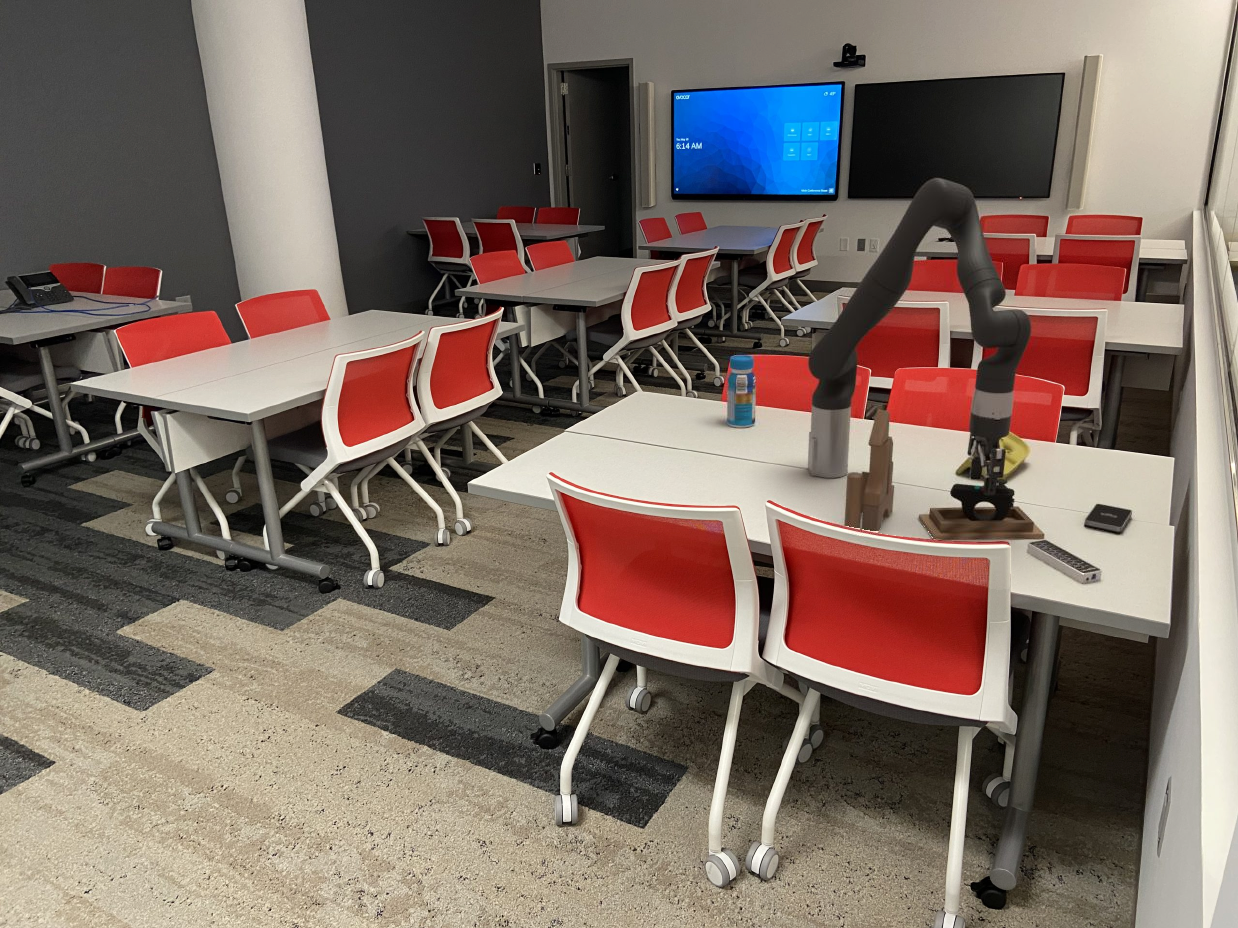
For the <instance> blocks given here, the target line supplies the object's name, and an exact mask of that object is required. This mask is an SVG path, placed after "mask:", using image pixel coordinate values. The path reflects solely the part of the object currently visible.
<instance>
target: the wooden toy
mask: <svg viewBox="0 0 1238 928" xmlns="http://www.w3.org/2000/svg"><path fill="white" fill-rule="evenodd" d="M890 417H891V412H890V410H885V409H884V410H881V409H878V410H877V411H876V413H875V417H874V421H873V424H872V429H871V431H870V432H871V433H870V435H869V440H868V446H870V451H869V452H870V453H869V455H870V456H869V469H868V471H861V472H853V471H852V472H847V474H846V490H845V505H844V507H845V509H844V526H849V527H854V528H860V529H861V530H862V529H864V530H870V531H879V530H880V531H881V529H882V522H883V518H887V517H888V518H890V516H891V514H892V513H893V509H894V508H893V507H894V497H895V495H894V494H895V485H894V484H893V475H894V474H893V473H894V461H893V455H894V454H893V453H894V441H893V437H892V436H890V435H889V431H890V420H891V419H890ZM861 519H862V520H861ZM880 528H881V529H880ZM880 531H879V532H880Z"/></svg>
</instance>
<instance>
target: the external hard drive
mask: <svg viewBox="0 0 1238 928" xmlns="http://www.w3.org/2000/svg"><path fill="white" fill-rule="evenodd" d="M1132 515H1133V510H1131V509H1127V508H1123V507H1118V506H1114V505H1113V506H1112V505H1108V504H1102V503H1095V505H1094V507H1092V509H1091V510H1090V512H1089V513H1088V514H1087V516H1086V517H1085V518H1084V522H1083V523H1084V525H1083V526H1084V528H1086V529H1090V530H1095V531H1098V532H1103V533H1109V534H1114V535H1121V534H1122V533H1123V531H1124V529H1125V528H1126V526H1127V525H1128V523H1129V522H1130V520H1131V519H1132Z"/></svg>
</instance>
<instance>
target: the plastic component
mask: <svg viewBox="0 0 1238 928" xmlns="http://www.w3.org/2000/svg"><path fill="white" fill-rule="evenodd" d="M999 445H1000V449H1005V450H1006V455H1005V465H1004V474H1003V478H997V479H1004V480H1006V479H1007V478H1008V477H1009V476H1010V475H1011V474H1013V472H1015V471H1016V470H1017V469H1018V468H1019V467H1020V465H1021V464H1022V463H1023V462H1024V461H1025V460H1026V459H1027V458H1028V456H1029V455H1030V453H1031V449H1030V447H1029V445H1028V443H1026V441H1024V440H1023V439H1022V438H1021V437H1020V436H1018V435H1016V434H1014V433H1013V432H1011V431H1010V430H1009V434H1008V435H1007V436H1006V437H1003V438H1001V439H1000V440H999ZM987 462H990V461H987ZM969 468H971V461H970V456H969V457H967V458H966V460H965V461H963V463H962V464H961V465H960V466H959V467H958V468H957V469H956V470H955V472H956V473H957V474H959V473H960V474H962V473H963V472H965V471H966V470H967V469H969ZM964 470H965V471H964ZM994 472H995V470H994ZM981 476H983V477H984V478H985V470H984V467H982V475H981ZM1006 477H1007V478H1006Z"/></svg>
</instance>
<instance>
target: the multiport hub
mask: <svg viewBox="0 0 1238 928" xmlns="http://www.w3.org/2000/svg"><path fill="white" fill-rule="evenodd" d="M1026 553H1028V555H1029V554H1030V555H1031V556H1033V557H1035V558H1036V559H1038V560H1040V561H1042V562H1043V563H1045V564H1047V565H1049V566H1050V567H1052V568H1054V569H1055V570H1057V571H1059V572H1061V573H1063V574H1064V575H1066V576H1068V577H1069V578H1071V579H1073V580H1074V581H1076V582H1077V583H1080V584H1086V583H1093V582H1098V581H1101V579H1102V572H1103V570H1102V569H1101V568H1099V567H1097V566H1095V565H1093V564H1092V563H1090V562H1088V561H1086V560H1084V559H1082V558H1081V557H1079V556H1076V555H1075V554H1073V553H1071V552H1069V551H1068V550H1067V549H1064V548H1062V547H1060V546H1058V545H1057V544H1055V543H1053V542H1051V541H1050V540H1047V539H1043V540H1041V539H1040V540H1035V541H1031V542H1030V541H1029V542H1028V543H1027V549H1026Z"/></svg>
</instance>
